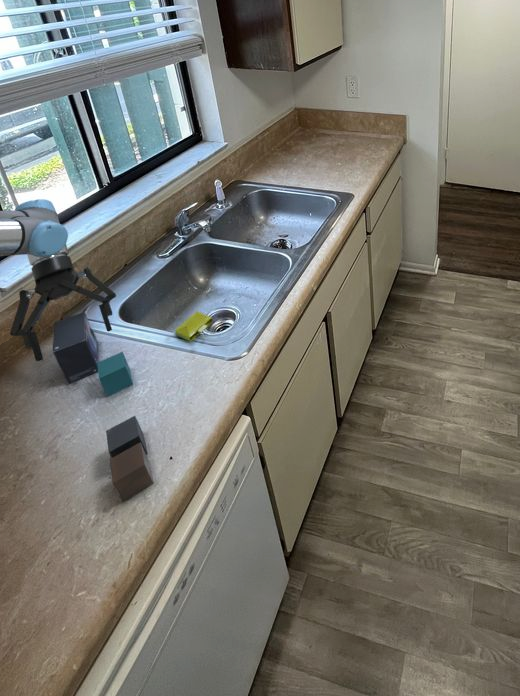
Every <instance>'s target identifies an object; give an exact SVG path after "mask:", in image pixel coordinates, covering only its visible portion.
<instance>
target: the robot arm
mask: <svg viewBox="0 0 520 696" xmlns="http://www.w3.org/2000/svg"><path fill="white" fill-rule="evenodd" d="M68 239H69V232H68V230H67V228H66V227H65V226H64V225H63V224H62V223H60V219H59V215H58V213H57V211H56V208H55V206H54V204H53V202H52V201H51V200H48V199H44V198H39V199H38V198H37V199H34V200H32V199H31V200H27V201H24V202H21V203H19V204H18V205H16V207H15V208H14V210H0V257H5V256H25V255H27V259H28V262H29V265H30V266H32V267H31V272H32V276H33V279H34V283H35V287H33V288H30V289H21V290H20V291H19V293H18V295H19V302H18V306H17V309H16V312H15V315H14V318H13V319H14V320H13V322H12V325H11V328H10V331H9V335H10V336H13V337H19V336H21V337H22V339H23V344H24V347H25V348H26V349H28V350H30V349H32V353H33V356H34V359H35V362H40V361H43V360H44V357H43V353H42V350H41V346H40V342H39V339H38V336H37V332H36V331H33V330H34V328H35V325H36V324H37V322H38V320H39V319H40V317H41V315H42V313H43V312H44V310H45V309H46V307H47V305H48V304H49V303H50V301H57V300H58V299H61V298H62V297H68V296H69V295H71V294H72V293H73V292H75V293H78V294H81V295H82V296H86V297H87V298H90V299H92V300H95V301H97V302H99V303H101V304H99V305H98V308H99V310H100V313H101V316H102V317H101V318H102V320H103V323H104V326H105V329H106V331H107V332H112V331H113V329H112V328H113V327H112V325H111V323H110V319H109V317H111V316H113V309H112V307H111V304H110V302H111V301H112V300H113V299H115V298H116V297H117V293H116V292H114V291H113V290H112V289H110V288H109V287H108V286H107V285H106V284H104V283H103V282H102V281H101V280H99V278H98V277H96V276H94V274H93V271H92V269H90V268H89V267H84V269H83V270H81V271H79V272H75V271H76V270H75V268H74V264H73V262H72V259H71V257H70V256H69V254H70V251H69V250H68V249H69V248H68V247H67V243H68ZM80 278H83V279H84V280H87V279H88V281H90V282H91V283H92V284H93V285H95V286H96V287H97V288H98V289H100V290H101V291H102V292H103V293H105V294H106V296H103V295H100V294H98V293H96V292H94V291H91V290H90V289H87V288H84V287H82V286H81V285H77V284H78V281H79V279H80ZM35 294H37V295H39V296H40V298H39V299H38V301H37V303H36V305H35V306H34V309H33V310H32V312H31V314H30V315H29V317H28V318H27V320H26V315H27V313H28V309H29V305H30V303H31V302H30V301H31V300H32V298H33V297H34V295H35ZM25 320H26V322H25V324H24V321H25ZM23 325H24V326H23Z"/></svg>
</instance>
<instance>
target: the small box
mask: <svg viewBox="0 0 520 696" xmlns="http://www.w3.org/2000/svg"><path fill="white" fill-rule="evenodd" d="M52 354H53V356H54V358H55V360H56V362H57V364H58V366H59V368H60V369H61V372H62V374H63V375H64V378H65V380H66V383H67V384H68V385H69V384H72V383H75V382H76V381H78V380H81V379H84V378H86V377H89V376H91V375H93V374H95V373H98V367H97V363H98V362H100V359H99V341H98V339H97V336H96V334H95V332H94V330H93V327H92V326H91V323H90V320H89V319H88V315H87V314H86V312H85V311H83V312H80V313H77V314H75V315H71V316H68V317H66V318H62V319H60V320H57V321H54V325H53V339H52Z"/></svg>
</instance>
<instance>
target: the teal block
mask: <svg viewBox="0 0 520 696" xmlns="http://www.w3.org/2000/svg"><path fill="white" fill-rule="evenodd" d="M97 367H98V372H97V374H98V380H99V382H100V384H101V386H102V387H103V390H104V392H105V394H106V396H107V397H110V396H112V395H114V394H116V393H119V392H120V391H123V390H125V389H128V387H131V386H133V385H134V381H133V376H132V372H131V368H130V366H129V363H128V361H127V359H126V356H125V354H124V352H123V351H120V352H118V353H116V354H114V355H112V356H110V357H107V358H105V359H102V360H99V362H98V363H97Z"/></svg>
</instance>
